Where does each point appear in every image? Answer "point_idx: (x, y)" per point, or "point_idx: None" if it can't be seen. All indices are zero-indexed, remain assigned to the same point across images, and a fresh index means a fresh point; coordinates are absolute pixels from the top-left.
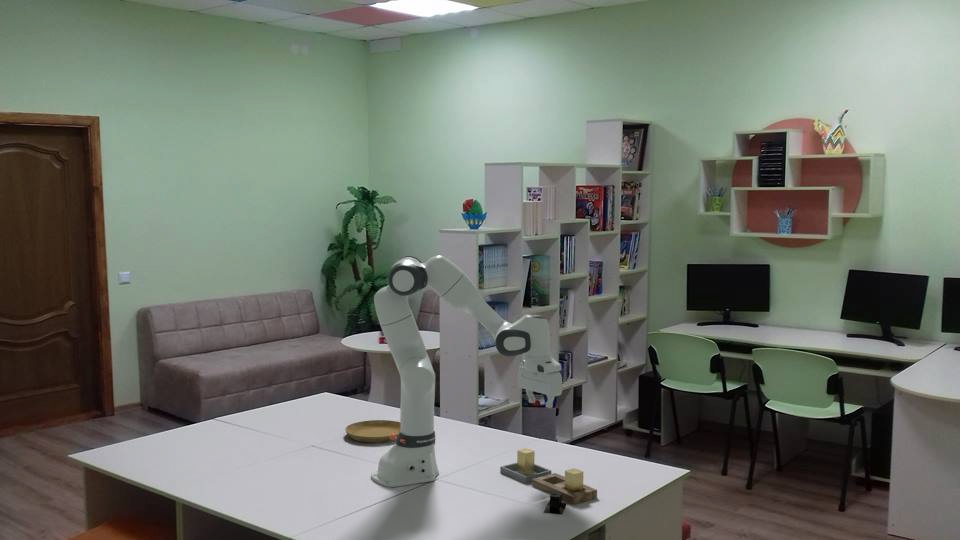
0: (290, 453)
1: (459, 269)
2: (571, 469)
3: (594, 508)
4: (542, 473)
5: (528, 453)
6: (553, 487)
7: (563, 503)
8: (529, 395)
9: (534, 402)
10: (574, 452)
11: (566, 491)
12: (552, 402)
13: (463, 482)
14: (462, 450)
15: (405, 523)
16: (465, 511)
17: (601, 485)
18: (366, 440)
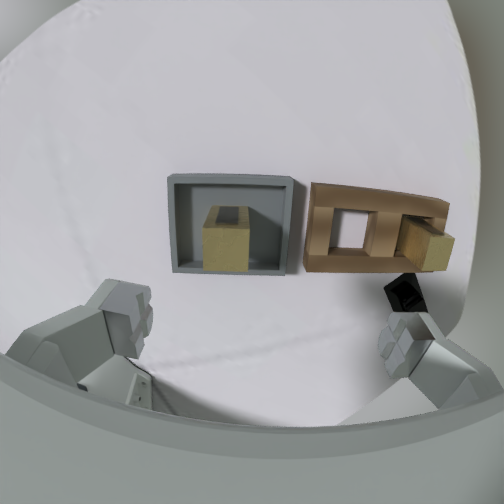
0: None
1: None
2: (429, 250)
3: (454, 245)
4: (290, 215)
5: (248, 255)
6: (380, 268)
7: (409, 274)
8: (93, 360)
9: (150, 294)
10: None
11: (412, 263)
12: (444, 337)
13: (182, 349)
14: (13, 228)
15: None
16: (301, 402)
17: (407, 123)
18: None
